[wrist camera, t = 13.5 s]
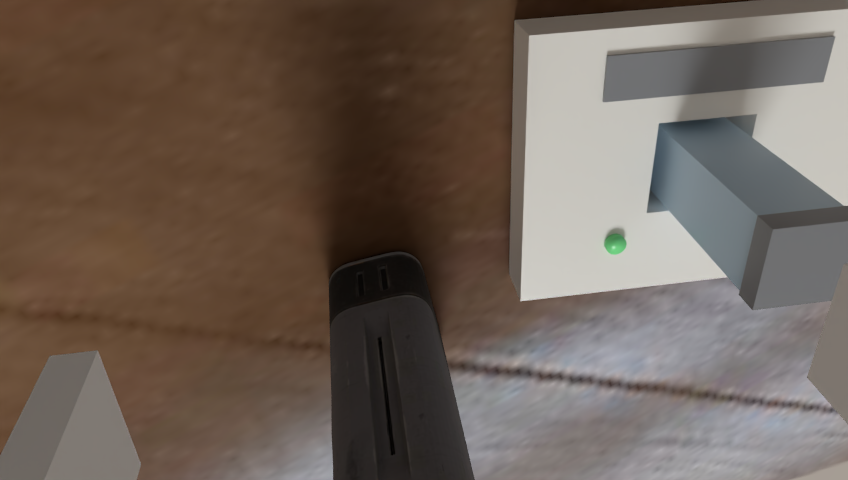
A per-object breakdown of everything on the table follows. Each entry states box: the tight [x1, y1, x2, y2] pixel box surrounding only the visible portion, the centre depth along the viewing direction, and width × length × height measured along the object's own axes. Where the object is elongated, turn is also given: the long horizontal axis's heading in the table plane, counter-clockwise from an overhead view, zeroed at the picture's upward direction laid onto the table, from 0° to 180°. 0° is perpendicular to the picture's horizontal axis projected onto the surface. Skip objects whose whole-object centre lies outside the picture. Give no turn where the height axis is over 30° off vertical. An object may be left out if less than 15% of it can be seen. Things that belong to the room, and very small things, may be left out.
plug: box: [650, 117, 848, 310], centre depth 36 cm, size 4×4×13 cm
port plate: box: [509, 0, 848, 301], centre depth 40 cm, size 16×20×3 cm
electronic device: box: [329, 252, 475, 480], centre depth 37 cm, size 9×6×20 cm, turn 12°
